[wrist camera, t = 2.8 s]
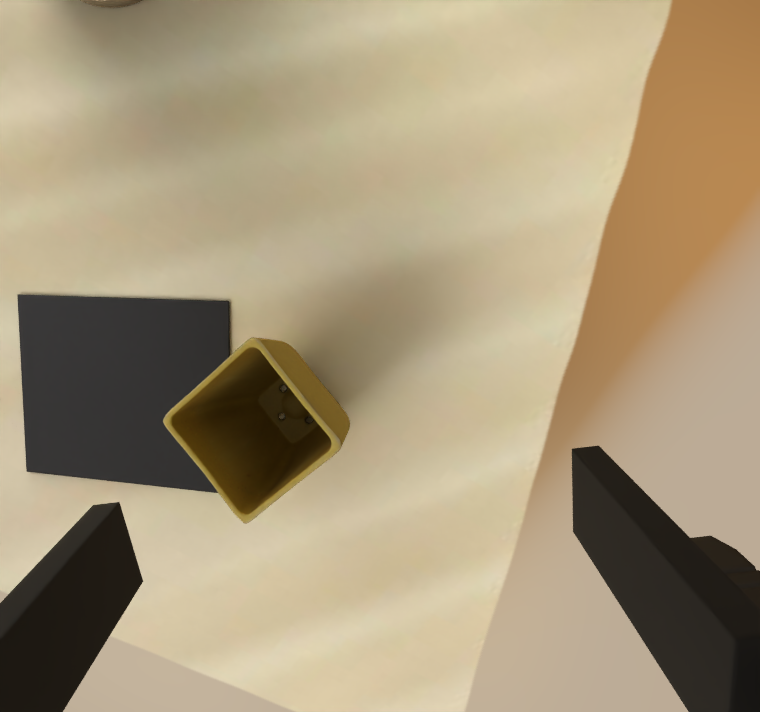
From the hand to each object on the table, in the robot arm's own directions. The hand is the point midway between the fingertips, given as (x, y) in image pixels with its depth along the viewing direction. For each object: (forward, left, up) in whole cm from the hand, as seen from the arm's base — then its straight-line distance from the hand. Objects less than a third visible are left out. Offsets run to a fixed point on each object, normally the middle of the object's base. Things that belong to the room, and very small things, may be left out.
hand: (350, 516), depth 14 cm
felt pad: (+20, -17, -24) cm, 35 cm away
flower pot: (+9, -6, -24) cm, 26 cm away
